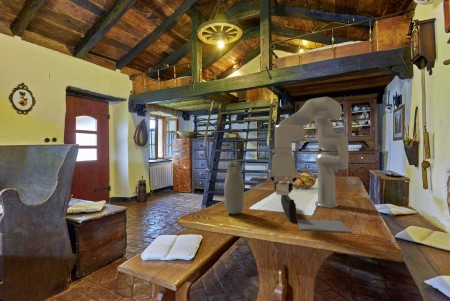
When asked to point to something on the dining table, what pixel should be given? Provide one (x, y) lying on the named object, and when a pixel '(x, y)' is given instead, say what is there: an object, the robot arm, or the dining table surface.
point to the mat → (322, 226)
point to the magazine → (289, 207)
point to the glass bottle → (234, 188)
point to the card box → (282, 188)
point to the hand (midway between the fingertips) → (283, 191)
